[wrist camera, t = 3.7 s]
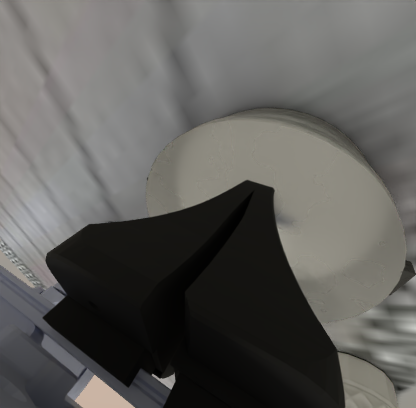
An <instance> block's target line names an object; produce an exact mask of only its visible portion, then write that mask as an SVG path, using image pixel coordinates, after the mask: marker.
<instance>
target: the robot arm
mask: <svg viewBox="0 0 416 408" xmlns="http://www.w3.org/2000/svg"><path fill="white" fill-rule="evenodd" d="M274 192H275V190H274V188H273V187H269V186H266V185H263V184H259V183H256V182H253V181H250V180H245V181H243V182H242V183H240V184H238V185H236V186H235V187H233V188H231V189H229V190H227V191H225V192H224V193H222V194H220V195H218V196H216V197H214V198H211V199H209V200H207V201H205V202H202V203H200V204H197V205H194V206H191V207H188V208H185V209H182V210H179V211H175V212H171V213H167V214H163V215H159V216H154V217H149V218H143V219H137V220H130V221H122V222H111V223H109V222H108V223H100V224H89V225H87V226H86V227H85V228H83V229H82V230H80V231H79V232H77V233H76V234H74V235H73V236H72V237H70V238H69V239H67V240H66V241H64V242H63V243H61V244H60V245H59V246H57V247H56V248H54V249H53V250H51V251H50V252H48V253H47V256H46V264H47V266H48V268H49V269H50V271H51V273H52V274H53V276H54V277H55V278H56V280H57V281H58V283H57V284H55V285H54V286H53V287H52V286H50V287H49V288H48V289H47V290H46V291H44V289H43V288H42V287H37V288H31V287H30V286H28V285H27V284H26V283H24V282H23V281H21V280H20V279H19V278H17V277H16V276H14V275H13V274H12V273H11V272H9V271H8V270H6V269H5V268H4V267H2V266H1V265H0V408H82V407H81V406H80V405H79V404H77V403H76V402H75V401H74V400H75V399H76V398H77V397H78V396H79V395H80V393H81V392H82V391H83V389H84V388H85V387H86V386H87V384H88V382H89V381H90V380H91V379H92V377H93V376H94V374H95V375H96V376H97V377H98V378H100V379H101V380H102V381H103V382H105V383H106V384H107V385H108V386H109V387H111V388H112V389H113V390H114V391H116V392H117V393H118V394H119V395H120V396H122V397H123V398H124V399H125V400H127V401H128V402H129V403H130V404H132V405H133V406H134V407H135V408H345V394H344V386H343V380H342V373H341V368H340V362H339V357H338V352H337V349H336V347H335V346H334V344H333V342H332V341H331V339H330V338H329V336H328V335H327V333H326V331H325V330H324V328H323V327H322V325H321V323H320V322H319V320H318V319H317V317H316V315H315V314H314V312H313V310H312V308H311V307H310V305H309V303H308V301H307V299H306V297H305V296H304V294H303V292H302V290H301V288H300V286H299V284H298V282H297V279H296V277H295V275H294V273H293V271H292V269H291V267H290V265H289V262H288V260H287V257H286V254H285V252H284V249H283V246H282V243H281V240H280V236H279V233H278V229H277V224H276V219H275V212H274ZM43 291H44V292H43ZM42 292H43V293H42ZM41 293H42V294H41ZM174 372H175V383H174V385H173V388H172V390H171V389H169V388H168V387H166V386H165V385H164V384H162V383H161V382H160V381H158V380H157V379H156V378H154V377H153V376H151V375H152V374H154V375H156V376H157V377H158V378H160V379H161V378H162V379H163V378H167V377H169V376H171V375H173V374H174Z"/></svg>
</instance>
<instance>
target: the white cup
mask: <svg viewBox="0 0 416 408" xmlns="http://www.w3.org/2000/svg"><path fill="white" fill-rule="evenodd" d="M338 357H339V362H340V368H341V373H342V380H343V386H344V394H345V408H399V407H398V403H397V398H396V394H395V389H394V385H393V383H392V382H391V380H390V379H389V378H388V377H387V376H386V374H385V373H384V372H383V371H381V370H379V369H378V368H376V367H375V366H373V365H371V364H370V363H368V362H366V361H364V360H362V359H359V358H357V357H354V356H351V355H349V354H345V353H340V352H338Z"/></svg>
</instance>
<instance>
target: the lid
mask: <svg viewBox="0 0 416 408" xmlns="http://www.w3.org/2000/svg"><path fill="white" fill-rule="evenodd" d="M245 180H250V181H253V182H256V183H259V184H263V185H266V186H269V187H273V188H274V190H275V192H274V212H275V219H276V224H277V229H278V233H279V236H280V240H281V243H282V246H283V249H284V252H285V254H286V257H287V260H288V262H289V265H290V267H291V269H292V271H293V273H294V275H295V277H296V279H297V282H298V284H299V286H300V288H301V290H302V292H303V294H304V296H305V297H306V299H307V301H308V303H309V305H310V307H311V308H312V310H313V312H314V314H315V315H316V317H317V319H318V320H319V322H320V323H326V322H333V321H339V320H344V319H347V318H351V317H354V316H357V315H359V314H361V313H364V312H366V311H368V310H370V309H371V308H373V307H375V306H376V305H378V304H379V303H381V302H382V301H383V300H384V299H385V298H386V297H387V296H388V295H389V294H390V293H391V292H392V290H393V289H394V287H395V286H396V285H397V283H398V282H399V280H400V277H401V275H402V272H403V269H404V267H405V260H406V252H407V247H406V239H405V231H404V228H403V225H402V222H401V220H400V217H399V214H398V211H397V209H396V206H395V204H394V201H393V199H392V196H391V195H390V193H389V191H388V190H387V188H386V186H385V185H384V183H383V181H382V180H381V178H380V177H379V176H378V175H377V174H376V172H375V171H374V170H373V169H372V168H371V167H370V166H369V164H368V163H367V162H366V161H365V160H364V159H362V158H361V157H360V156H359V155H358V154H356V153H355V152H354V151H353V150H352V149H350V148H349V147H348V146H347V145H345V144H343V143H342V142H340V141H338V140H337V139H335V138H333V137H332V136H330V135H328V134H327V133H325V132H322V131H320V130H317V129H315V128H313V127H310V126H308V125H306V124H303V123H299V122H296V121H292V120H288V119H284V118H281V117H273V116H265V115H235V116H229V117H223V118H218V119H215V120H212V121H209V122H206V123H203V124H201V125H199V126H197V127H195V128H193V129H191V130H190V131H188V132H186V133H184V134H182V135H180V136H179V137H177V138H176V139H175V140H173V141H172V142H171V143H170V144H168V145H167V146H166V147H165V148H164V149H163V151H162V152H161V153H160V154H159V155H158V157H157V158H156V160H155V162H154V163H153V165H152V168H151V170H150V173H149V175H148V180H147V185H146V202H147V209H148V213H149V217H154V216H159V215H163V214H167V213H171V212H175V211H179V210H182V209H185V208H188V207H191V206H194V205H197V204H200V203H202V202H205V201H207V200H209V199H211V198H214V197H216V196H218V195H220V194H222V193H224V192H225V191H227V190H229V189H231V188H233V187H235V186H236V185H238V184H240V183H242V182H243V181H245Z"/></svg>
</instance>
